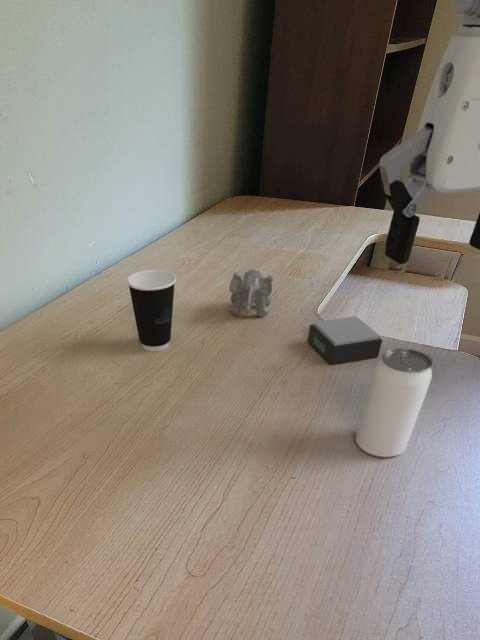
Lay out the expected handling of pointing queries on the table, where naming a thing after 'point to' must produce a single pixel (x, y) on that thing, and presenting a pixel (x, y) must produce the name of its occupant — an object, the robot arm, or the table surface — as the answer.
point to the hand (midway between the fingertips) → (438, 254)
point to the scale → (344, 340)
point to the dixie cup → (153, 307)
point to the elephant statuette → (251, 292)
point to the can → (394, 402)
